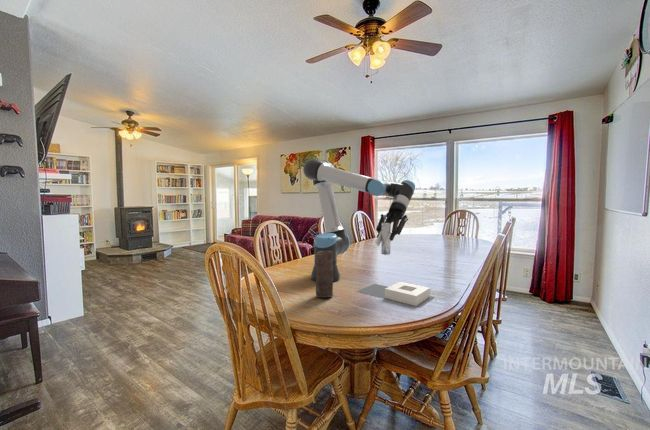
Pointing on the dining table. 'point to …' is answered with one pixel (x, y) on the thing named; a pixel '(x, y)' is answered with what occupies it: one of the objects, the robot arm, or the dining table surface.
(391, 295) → the hole block
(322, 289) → the candle
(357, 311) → the dining table surface
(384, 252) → the pin
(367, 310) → the dining table surface
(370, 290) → the mat
